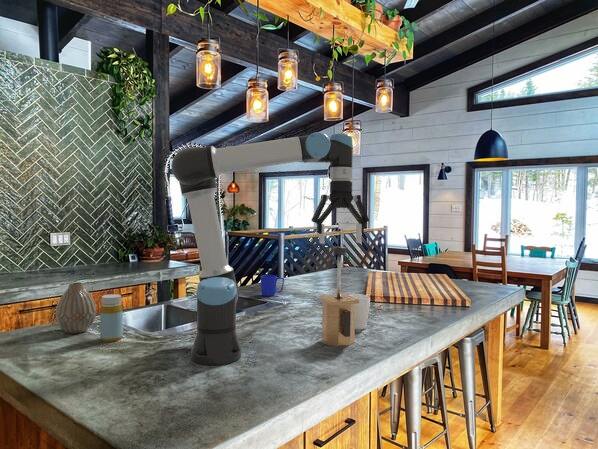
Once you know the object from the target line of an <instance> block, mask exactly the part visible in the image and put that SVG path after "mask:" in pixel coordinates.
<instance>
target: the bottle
mask: <svg viewBox="0 0 598 449" xmlns="http://www.w3.org/2000/svg"><path fill="white" fill-rule="evenodd" d="M100 300H101V301H100V302H101V307H100V310H99V316H100V318H99V320H100V321H99V322H100V323H99V324H100V326H99V328H100V340H101V341H102V342H104V343H115V342H118V341H121V340H122V338H123V335H124V333H123V332H124V331H123V328H124V326H123V325H124V324H123V322H124V321H123V320H124V319H123V318H124V317H123V316H124V315H123V306H122V294H118V293H113V294H111V293H110V294H104V295H102V296H101V299H100Z"/></svg>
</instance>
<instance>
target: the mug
mask: <svg viewBox="0 0 598 449" xmlns="http://www.w3.org/2000/svg"><path fill="white" fill-rule="evenodd" d="M259 277H260V290H261V295H262V296H263V297H273V296H276V295H275V294H276V293H277V294H278V293H281V292H283V289H284V284H285V278H284V277H277V275H274V274H263V275H260V276H259ZM278 280H282V283H281V284H282V285H281V288H280V290H278V291H277V282H278Z"/></svg>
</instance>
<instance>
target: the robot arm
mask: <svg viewBox="0 0 598 449" xmlns="http://www.w3.org/2000/svg"><path fill="white" fill-rule="evenodd" d="M353 143H354V142H353V136H352V135H351V134H349V133H341V132H340V133H333V134H331V135H330V138H329V136H328V135H327V134H326V133H324V132H320V131H316V132H312V133H311V134H310V133H309V134H306V135H301V136H300V135H299V136H294V137H293V136H292V137H287V138H279V139H274V140H272V139H271V140H268V141H267V140H266V141H261V142H260V141H259V142H253V143H247V144H239V145H238V144H237V145H232V146H226V147H220V148H216V147H215V146H213V145H208V146H200V147H199V146H198V147H187V148H183V149H181V150H179V151H178V152H177V153H176V154H175V155H174V156H173V158H172V159H171V173H172V175H173V176H174V178H175V180H176V181H178V183H179V187H180V192H181V196H182V197H184V198H185V199H186V200H187V203H188V207H189V213H190V216H191V222H192V226H193V231H194V232H193V233H194V236H195V241H196V246H197V247H196V248H197V250H198V256H199V261H200V266H201V271H200V274H199V275H198V279H199V283H198V284H197V286H196V287H197V288H196V292H195V293H196V300H197V301H196V303H197V304H196V305H197V306H196V335H195V337H194V340H193V344H192V346H191V347H192V348H191V351H190V359H191V361H192V362H194V363H196V364H199V365H207V366H219V365H226V364H231V363H233V362H236V361H238V360H239V359H241V357H242V347H241V344H240V341H239V336H238V334H237V326H236V324H237V320H236V319H237V303H238V299H239V298H240V297H239V296H240V287H239V285H238V282H237V280H236V275H235V271H234V268H233V267H232V266H231V265H229V263H228V258H227V254H226V250H225V243H224V239H223V235H222V229H221V224H220V220H219V215H218V208H217V205H216V199H215V193H216V192H217V191H218V186H217V182H216V178H219V177H220V175H221V174H226V173H227V174H229V173H234V172H240V171H247V170H254V169H260V168H265V167H266V168H267V167H273V166H279V165H285V164H291V163H297V162H298V163H304V164H306V163H326V164H327V163H328V164H330V165H329V175H330V176H329V179H330V180H331V181H330V182H329V195H328V194H321V195H320V200H319V204H318V205H317V207H316V209H315V212H314V213H313V216H312V218H311V222H312V223H314V224H316V233H317V234H319V236H318V237H319V239H318V240H319V242H318V243H319V244H321V245H324V244H325V224H324V222H325V221H326V219H327V217H329V215H330V214H331V213H332V212H333V210H335V209H347V210H348V211H349V212H350V213H351V214H352V216H353V217H354V219H355V220H356V222H358V223H356V224H355V243H358V244H362V234H364V231H365V224H366V223H367V222H368V223H369V222H370V218H369V216H368V214H367V212H366V209H365V207H364V204H363V203H362V195H360V194H356V195H355V194H354V195H353V181H351V180H353V157H354V155H353V154H354V153H353V151H354V150H353V149H354V146H353ZM328 200H329V201H330V203H329V204H328V206H327V208H326V209H325V210H324V208H325V205H326V203H327V202H328ZM353 201H354V203H355V205H353V203H352V202H353ZM354 206H356V208H357V209H356V208H355V207H354ZM323 210H324V212H323ZM357 210H358V211H357Z"/></svg>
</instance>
